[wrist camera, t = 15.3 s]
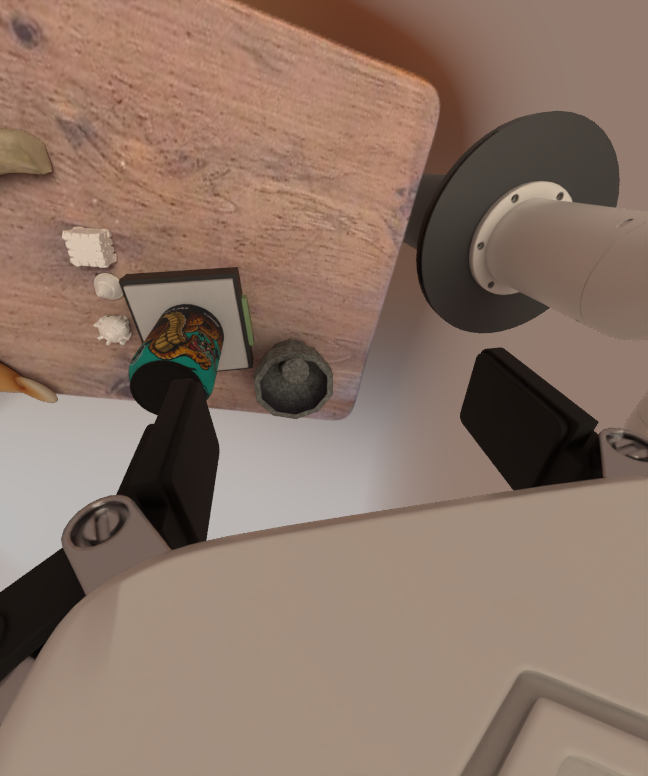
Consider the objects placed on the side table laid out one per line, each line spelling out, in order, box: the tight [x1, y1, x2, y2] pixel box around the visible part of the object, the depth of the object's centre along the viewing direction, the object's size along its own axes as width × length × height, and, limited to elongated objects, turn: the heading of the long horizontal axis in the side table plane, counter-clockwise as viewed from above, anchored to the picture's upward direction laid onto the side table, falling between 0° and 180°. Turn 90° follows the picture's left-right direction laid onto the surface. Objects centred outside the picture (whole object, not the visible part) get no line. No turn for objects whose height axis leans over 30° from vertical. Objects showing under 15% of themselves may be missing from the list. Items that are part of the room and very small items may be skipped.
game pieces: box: [62, 227, 132, 346], centre depth 34 cm, size 12×3×3 cm, turn 174°
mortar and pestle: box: [254, 339, 333, 419], centre depth 39 cm, size 11×9×12 cm
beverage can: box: [129, 304, 224, 415], centre depth 32 cm, size 7×7×12 cm
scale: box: [118, 267, 254, 372], centre depth 38 cm, size 13×12×3 cm
